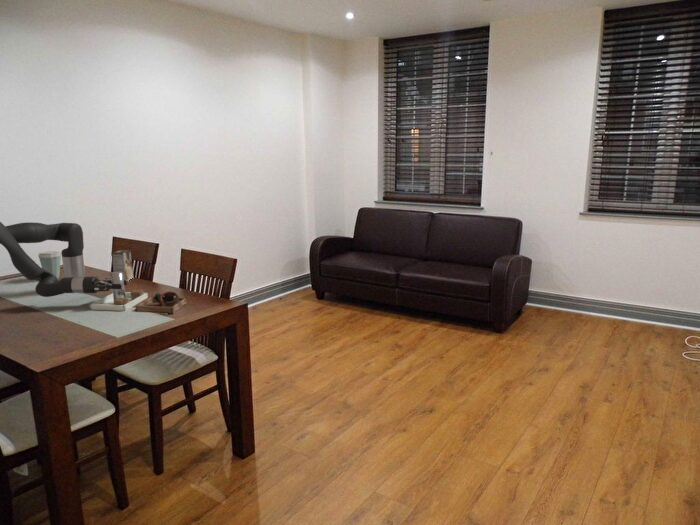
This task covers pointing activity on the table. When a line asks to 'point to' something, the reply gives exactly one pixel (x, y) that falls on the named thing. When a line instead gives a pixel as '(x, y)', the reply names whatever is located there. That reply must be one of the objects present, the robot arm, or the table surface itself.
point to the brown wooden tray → (144, 307)
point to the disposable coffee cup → (51, 262)
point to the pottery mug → (167, 299)
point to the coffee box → (123, 263)
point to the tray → (108, 304)
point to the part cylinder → (118, 279)
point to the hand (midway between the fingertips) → (123, 284)
